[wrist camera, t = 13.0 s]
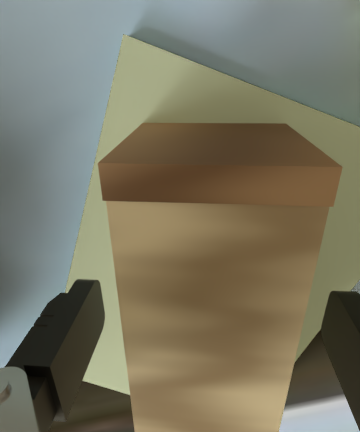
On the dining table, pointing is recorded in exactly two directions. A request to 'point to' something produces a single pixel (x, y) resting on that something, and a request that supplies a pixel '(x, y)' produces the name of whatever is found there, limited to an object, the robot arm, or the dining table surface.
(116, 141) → the felt mat
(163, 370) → the beech block
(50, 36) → the dining table surface
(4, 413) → the robot arm
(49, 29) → the dining table surface
